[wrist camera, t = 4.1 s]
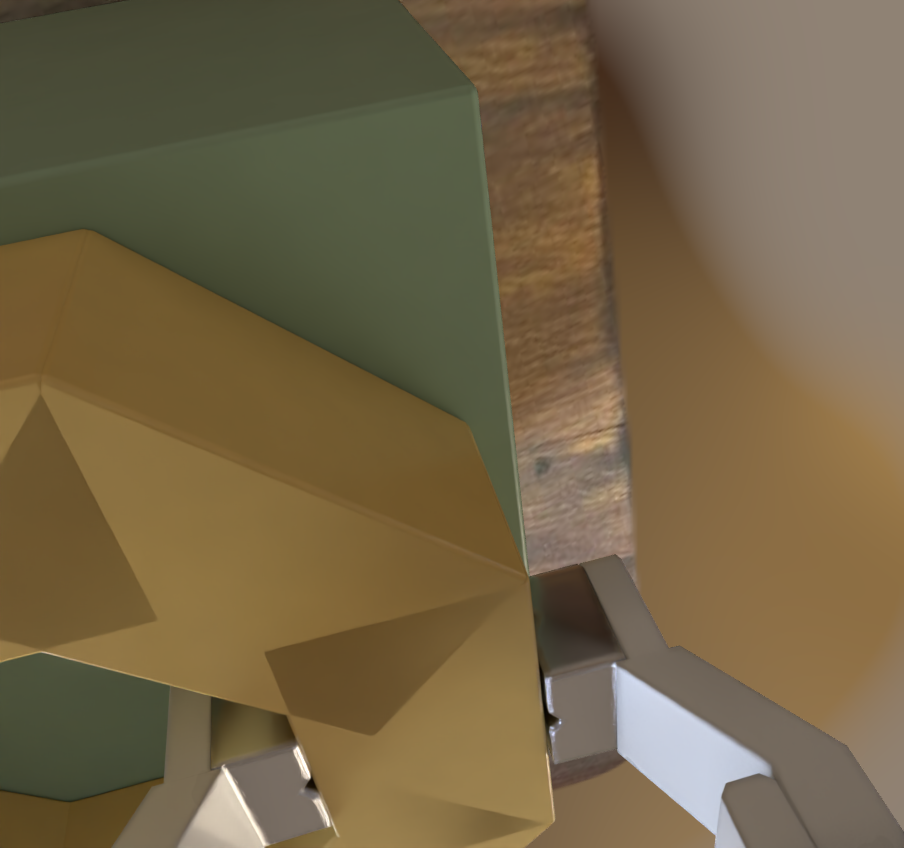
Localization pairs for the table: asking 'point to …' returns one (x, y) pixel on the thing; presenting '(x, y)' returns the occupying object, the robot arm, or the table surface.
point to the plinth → (254, 246)
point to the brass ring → (260, 552)
